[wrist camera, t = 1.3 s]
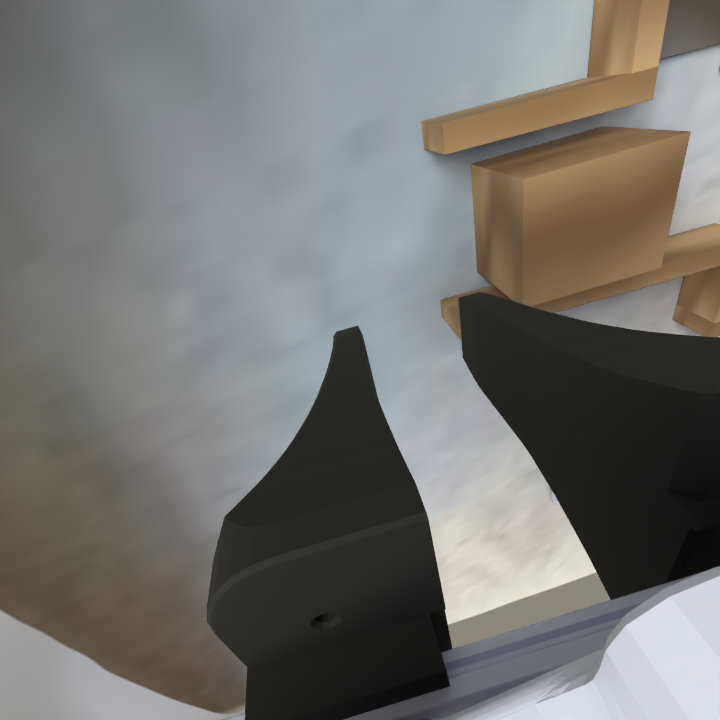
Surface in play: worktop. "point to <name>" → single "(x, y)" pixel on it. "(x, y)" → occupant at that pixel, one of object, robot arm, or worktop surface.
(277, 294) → the worktop surface
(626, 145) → the walnut block
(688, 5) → the trap lane
